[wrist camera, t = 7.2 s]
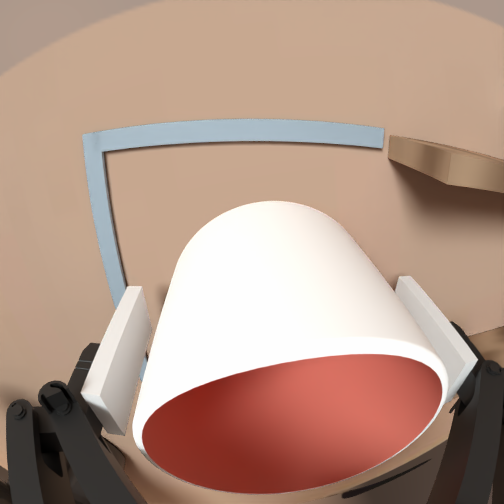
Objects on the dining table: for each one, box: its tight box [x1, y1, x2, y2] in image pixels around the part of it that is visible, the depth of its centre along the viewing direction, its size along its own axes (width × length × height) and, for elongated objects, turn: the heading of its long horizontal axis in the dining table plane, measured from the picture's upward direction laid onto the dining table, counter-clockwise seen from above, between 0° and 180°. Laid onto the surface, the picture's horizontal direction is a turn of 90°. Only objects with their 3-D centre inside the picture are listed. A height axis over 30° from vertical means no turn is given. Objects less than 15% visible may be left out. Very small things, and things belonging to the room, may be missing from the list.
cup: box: [132, 201, 449, 495], centre depth 12 cm, size 10×10×10 cm
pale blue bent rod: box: [83, 119, 384, 382], centre depth 16 cm, size 14×17×1 cm
